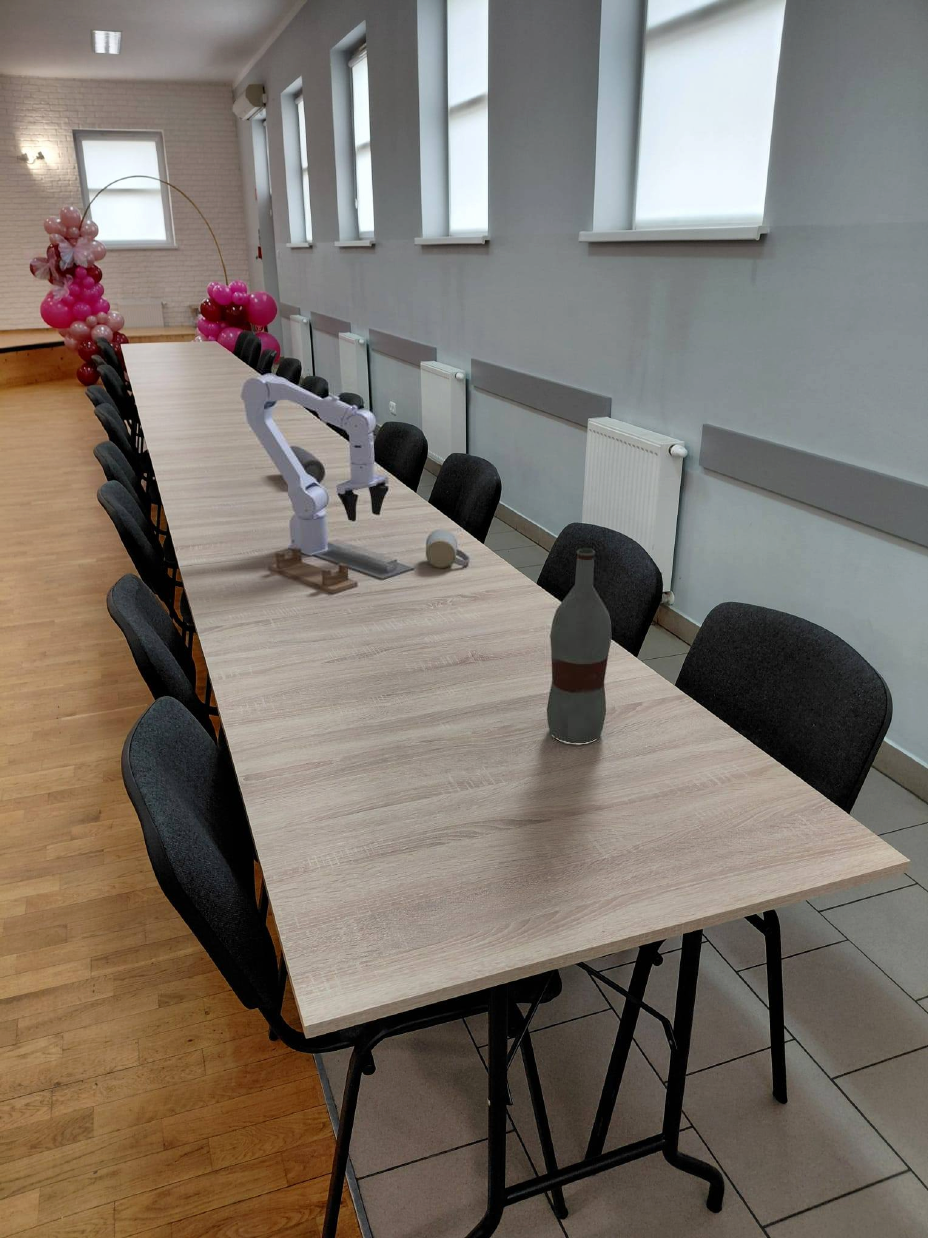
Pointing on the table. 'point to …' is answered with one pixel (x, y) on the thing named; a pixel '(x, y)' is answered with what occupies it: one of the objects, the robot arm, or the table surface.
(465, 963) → the table surface
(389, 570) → the steel rail
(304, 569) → the walnut standards
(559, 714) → the bottle
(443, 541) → the ceramic mug
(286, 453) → the robot arm
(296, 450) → the bluetooth speaker
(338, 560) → the rubber mat
